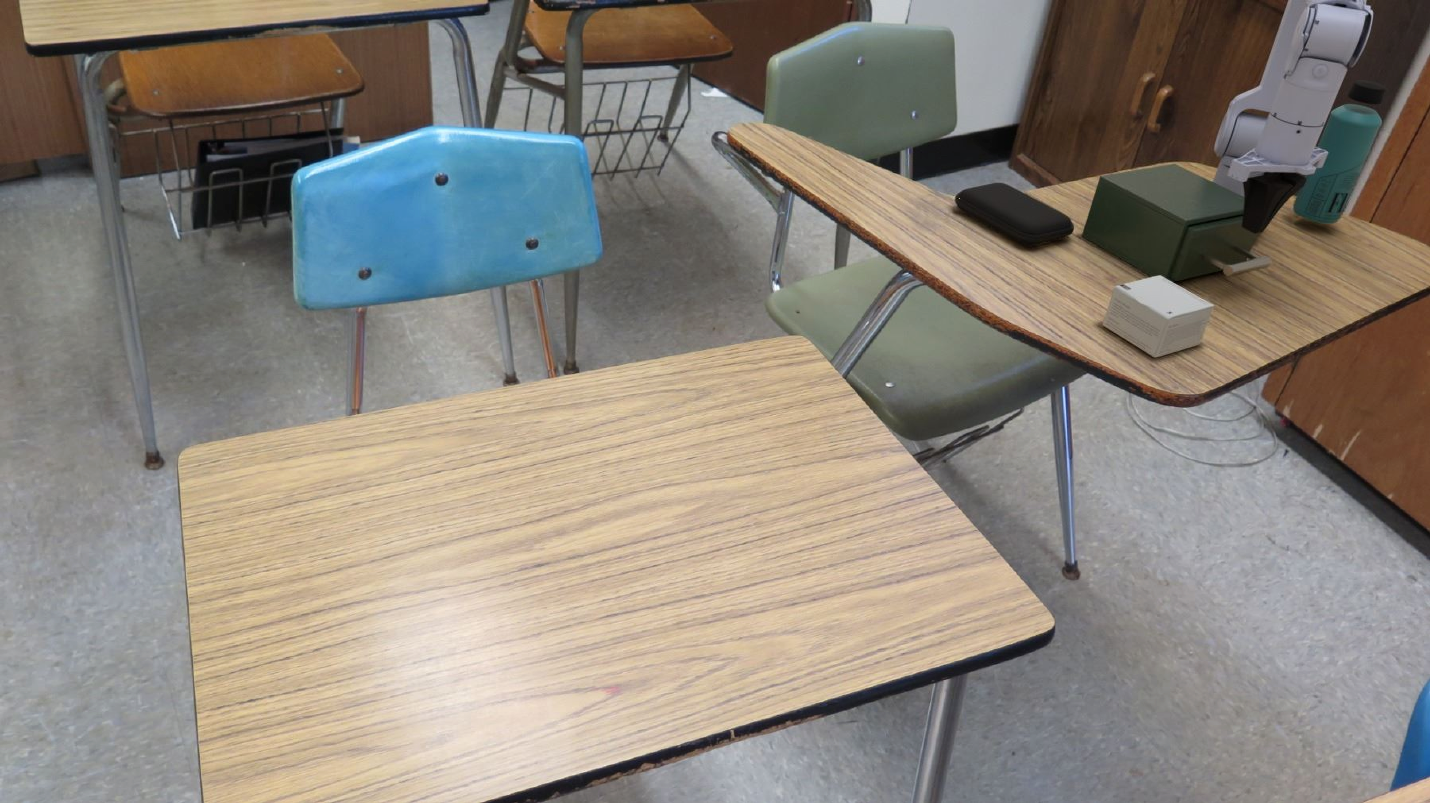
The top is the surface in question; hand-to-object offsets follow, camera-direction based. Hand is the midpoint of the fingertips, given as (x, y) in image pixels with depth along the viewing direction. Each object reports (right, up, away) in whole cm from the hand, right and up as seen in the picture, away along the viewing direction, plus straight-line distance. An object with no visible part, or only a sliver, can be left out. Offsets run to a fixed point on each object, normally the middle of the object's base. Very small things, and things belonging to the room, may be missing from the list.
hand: (1252, 229), depth 127 cm
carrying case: (-24, +3, +16) cm, 29 cm away
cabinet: (-6, -1, +12) cm, 14 cm away
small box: (-15, -13, -7) cm, 21 cm away
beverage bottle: (+20, +5, +25) cm, 32 cm away
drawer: (-4, -2, +9) cm, 10 cm away
